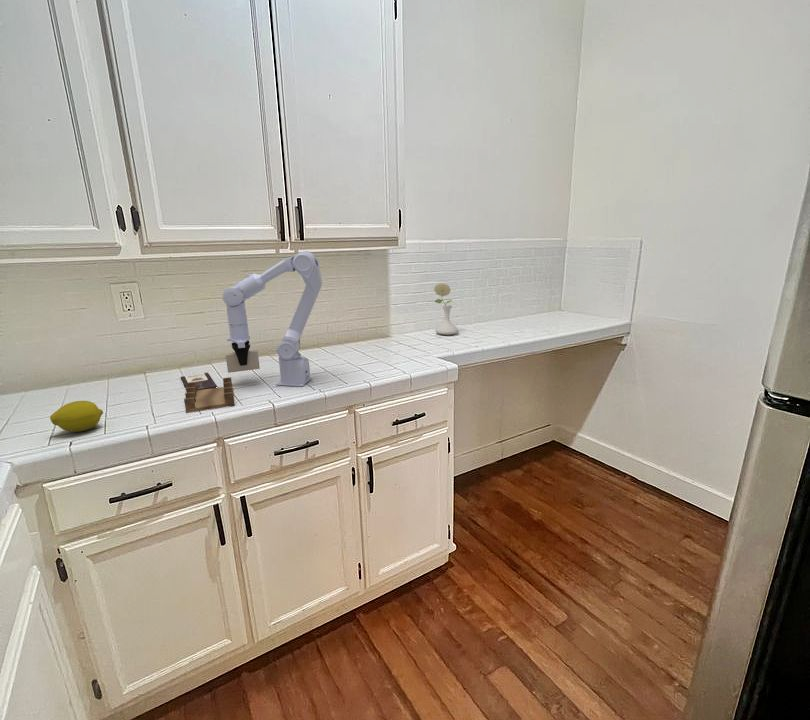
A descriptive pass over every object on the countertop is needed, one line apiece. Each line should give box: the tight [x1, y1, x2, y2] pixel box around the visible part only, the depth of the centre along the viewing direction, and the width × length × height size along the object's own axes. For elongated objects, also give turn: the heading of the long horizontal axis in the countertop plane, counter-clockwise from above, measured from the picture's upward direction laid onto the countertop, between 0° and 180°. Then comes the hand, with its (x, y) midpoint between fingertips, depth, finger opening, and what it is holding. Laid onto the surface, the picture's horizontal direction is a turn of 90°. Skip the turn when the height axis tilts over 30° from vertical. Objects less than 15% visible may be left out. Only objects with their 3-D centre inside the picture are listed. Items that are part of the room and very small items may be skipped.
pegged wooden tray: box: [183, 376, 236, 414], centre depth 133 cm, size 13×16×4 cm
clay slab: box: [225, 349, 261, 374], centre depth 145 cm, size 10×2×6 cm, turn 113°
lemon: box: [49, 400, 104, 433], centre depth 113 cm, size 11×8×8 cm
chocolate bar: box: [180, 371, 218, 390], centre depth 150 cm, size 9×1×18 cm
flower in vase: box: [433, 282, 459, 336], centre depth 213 cm, size 13×11×25 cm
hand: (243, 364), depth 146 cm, fingers closed on clay slab, 2 cm apart
